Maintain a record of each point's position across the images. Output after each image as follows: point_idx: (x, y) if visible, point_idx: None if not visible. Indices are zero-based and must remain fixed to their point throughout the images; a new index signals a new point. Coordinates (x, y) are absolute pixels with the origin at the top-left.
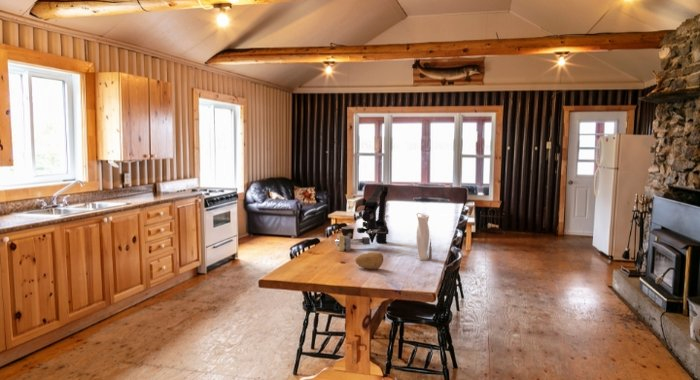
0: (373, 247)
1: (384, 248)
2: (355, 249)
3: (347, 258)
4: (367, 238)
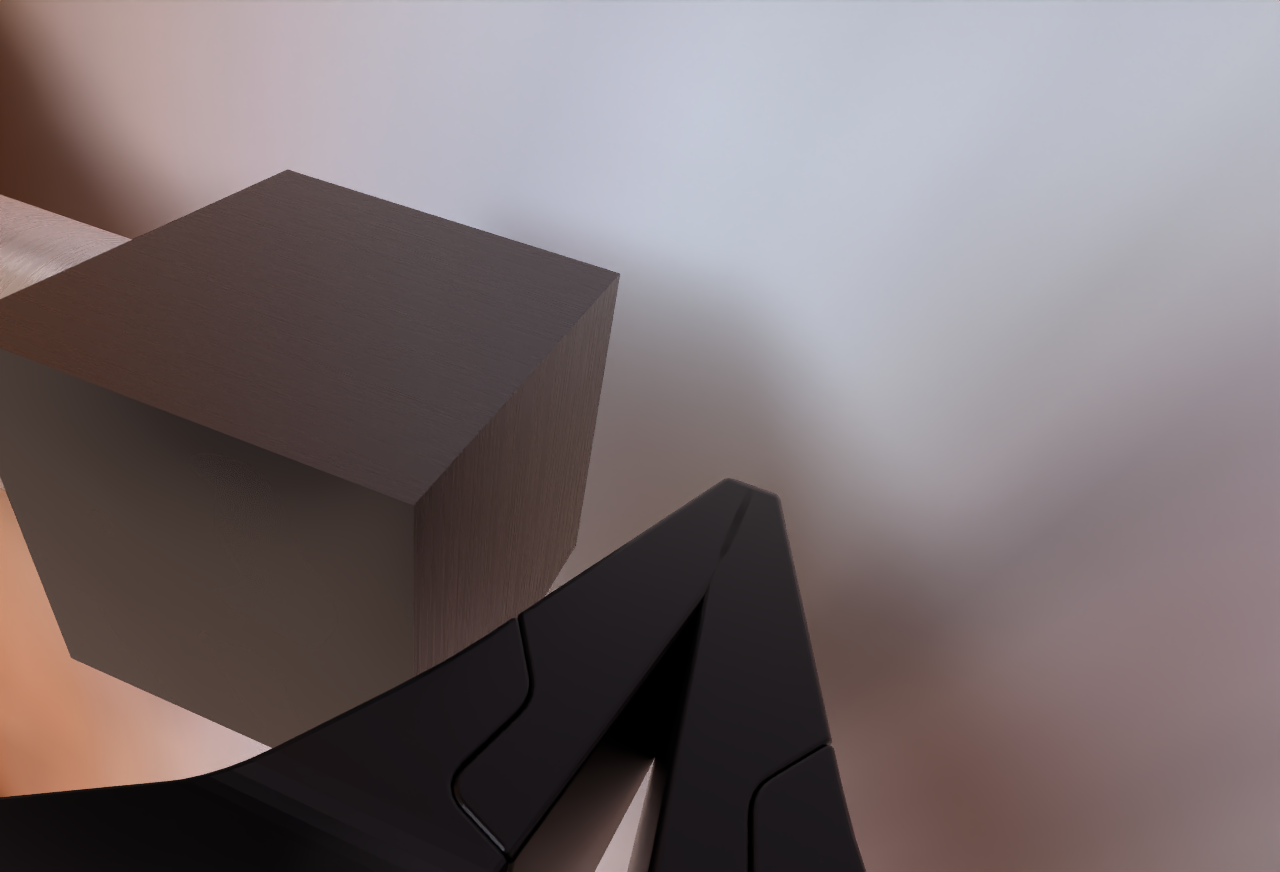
0: (962, 288)
1: (1266, 682)
2: (150, 230)
3: (23, 730)
4: (277, 745)
